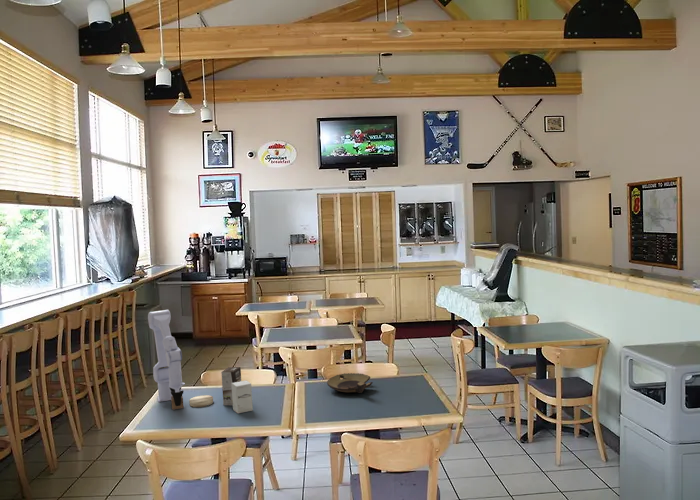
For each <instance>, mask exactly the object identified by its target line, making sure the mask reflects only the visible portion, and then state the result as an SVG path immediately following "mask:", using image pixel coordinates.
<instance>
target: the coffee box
mask: <svg viewBox="0 0 700 500" xmlns="http://www.w3.org/2000/svg"><path fill="white" fill-rule="evenodd" d="M241 369H242V368H241V366H232V367H231V366H230V367H229V366H228V367H227V368H226V369H223V370H222V371H221V373H220V374H221V388H222V405H223V406H233V401H232V385H231V383H234V382H240V381H242V371H241Z"/></svg>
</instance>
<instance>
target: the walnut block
mask: <svg viewBox="0 0 700 500" xmlns="http://www.w3.org/2000/svg"><path fill="white" fill-rule="evenodd" d="M170 401H171V409H172V411H175V410H178V409H179V410H180V409H184V397H183V395H182V398H181V405H180V406H176V405H175V402H174V398H173V396H171V400H170Z"/></svg>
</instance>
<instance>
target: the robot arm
mask: <svg viewBox="0 0 700 500" xmlns="http://www.w3.org/2000/svg"><path fill="white" fill-rule="evenodd" d="M171 315H172V314H171V311H170V310H169V309H163V310H155V311H149V312H148V314H147V321H148V322H147V323H148V326H149V327H148V328H149V329H151V330H152V331H153V334H154V342H155V349H156V356H157V357H156V358H157V363H155V365H154V366H153V368H152V369H153V370H152V374H153V380H154V381H155V383H157V393H158V394H157V401H158V403H160V402H166V401H171V396H173V398H174V402H175V405H176V406H180V405H181V398H182V396H183V394H184V390H182V387H183V386H185V385H186V383H185V382H183V377H182V376H183V375H182V364H181V363H182V360H183V353H182V352H183V351H182V350H181V348H180V347H178V345H177V341H176V338H175V336H172V333H171V329H170V324H171V323H170V322H171V319H172V317H171Z"/></svg>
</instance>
